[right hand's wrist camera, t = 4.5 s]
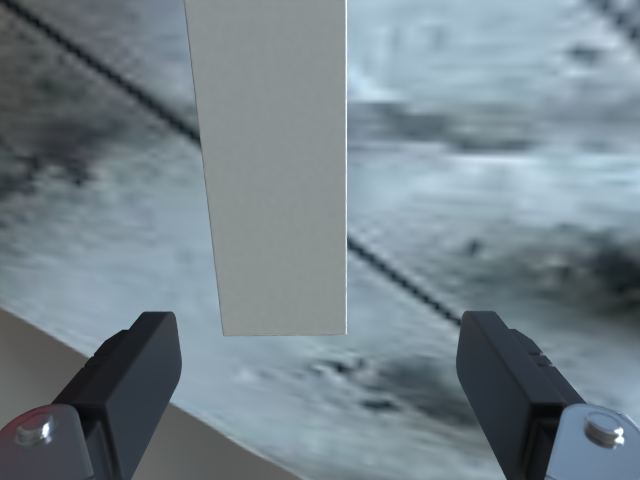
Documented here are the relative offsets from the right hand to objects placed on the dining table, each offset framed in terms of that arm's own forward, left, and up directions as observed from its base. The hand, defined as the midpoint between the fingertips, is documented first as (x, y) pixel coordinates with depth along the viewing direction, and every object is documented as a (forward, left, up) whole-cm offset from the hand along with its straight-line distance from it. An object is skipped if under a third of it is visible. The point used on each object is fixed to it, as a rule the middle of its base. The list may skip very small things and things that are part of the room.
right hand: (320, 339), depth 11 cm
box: (+9, +2, -20) cm, 22 cm away
